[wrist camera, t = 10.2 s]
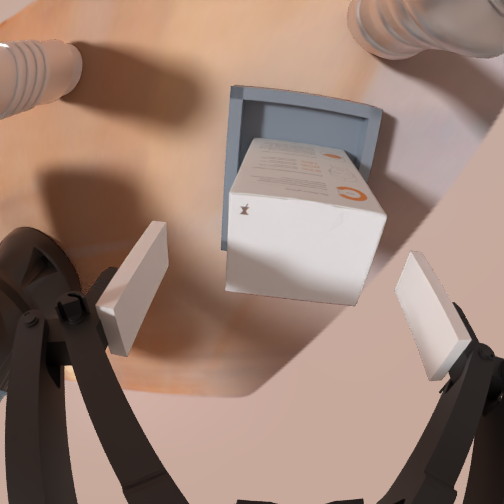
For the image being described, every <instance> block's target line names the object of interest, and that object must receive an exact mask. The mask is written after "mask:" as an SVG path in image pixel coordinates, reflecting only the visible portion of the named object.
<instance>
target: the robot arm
mask: <svg viewBox="0 0 504 504" xmlns="http://www.w3.org/2000/svg"><path fill="white" fill-rule="evenodd" d="M168 267H169V260H168V245H167V228H166V222H161V221H152V222H151V223H150V225H149V226H148V228H147V229H146V230H145V232H144V233H143V234H142V236H141V237H140V239H139V240H138V242H137V243H136V244H135V246H134V247H133V249H132V250H131V252H130V253H129V254H128V256H127V257H126V259H125V260H124V262H123V263H122V265H121V266H120V268H114V267H109V268H108V269H106V270H105V271H104V272H102V273H101V274H100V276H99V277H98V279H97V280H96V282H95V283H94V284H93V286H92V288H91V289H90V290H89V292H88V293H87V295H86V296H84V294H83V293H81V288H80V283H79V280H78V277H77V274H76V272H75V270H74V268H73V266H72V264H71V263H70V261H69V260H68V258H67V257H66V255H65V254H64V253H63V251H62V250H61V249H60V248H59V247H58V246H57V245H56V244H55V243H54V242H53V241H52V240H51V239H50V238H48V237H47V236H46V235H44V234H43V233H41V232H39V231H37V230H35V229H32V228H28V227H20V228H16V229H15V230H13V231H12V232H11V233H10V234H8V235H7V236H6V237H5V238H4V239H3V240H2V242H1V243H0V402H1V400H2V399H3V397H4V396H5V395H7V403H6V420H5V462H6V480H7V491H8V501H9V504H78V503H77V498H76V493H75V488H74V482H73V477H72V470H71V463H70V456H69V447H68V437H67V426H66V411H65V387H64V366H67V365H72V366H73V370H74V373H75V376H76V379H77V382H78V385H79V388H80V391H81V394H82V397H83V400H84V402H85V405H86V408H87V410H88V413H89V416H90V418H91V420H92V423H93V425H94V428H95V430H96V433H97V435H98V437H99V440H100V442H101V444H102V447H103V449H104V451H105V453H106V455H107V457H108V459H109V462H110V464H111V465H112V468H113V470H114V472H115V474H116V476H117V477H118V479H119V481H120V483H121V486H122V489H123V493H124V496H125V498H126V500H127V502H128V504H189V503H188V501H187V500H186V498H185V497H184V496H183V494H182V493H181V491H180V490H179V489H178V487H177V485H176V484H175V483H174V481H173V479H172V478H171V476H170V475H169V473H168V472H167V471H166V469H165V468H164V466H163V465H162V463H161V461H160V460H159V458H158V456H157V455H156V453H155V451H154V450H153V448H152V446H151V444H150V443H149V441H148V439H147V437H146V435H145V434H144V432H143V430H142V428H141V426H140V424H139V423H138V421H137V419H136V417H135V415H134V413H133V411H132V409H131V407H130V405H129V403H128V401H127V399H126V397H125V395H124V393H123V391H122V389H121V386H120V384H119V382H118V380H117V378H116V376H115V373H114V371H113V369H112V366H111V364H110V362H109V359H108V357H107V355H106V352H105V350H106V348H107V346H109V349H110V352H111V354H115V355H120V356H124V357H128V354H129V352H130V350H131V347H132V345H133V343H134V340H135V338H136V336H137V333H138V331H139V329H140V327H141V324H142V322H143V320H144V318H145V316H146V313H147V311H148V309H149V307H150V305H151V302H152V300H153V298H154V296H155V294H156V292H157V290H158V287H159V285H160V283H161V281H162V279H163V277H164V275H165V273H166V271H167V269H168ZM395 292H396V294H397V297H398V299H399V302H400V304H401V306H402V309H403V311H404V314H405V316H406V318H407V321H408V324H409V326H410V329H411V332H412V334H413V337H414V340H415V342H416V345H417V348H418V351H419V353H420V356H421V359H422V362H423V365H424V368H425V371H426V374H427V377H428V379H429V381H437V380H442V379H443V378H444V377H445V375H446V374H447V373H448V372H449V375H450V379H449V381H448V382H447V383H446V384H445V385H444V387H443V388H442V389H441V390H440V391H439V393H441V392H442V391H443V393H442V395H441V397H440V399H439V402H438V404H437V406H436V408H435V410H434V413H433V414H432V417H431V419H430V421H429V423H428V425H427V426H426V428H425V430H424V432H423V434H422V436H421V438H420V440H419V442H418V444H417V445H416V447H415V449H414V451H413V452H412V454H411V456H410V457H409V459H408V461H407V463H406V465H405V466H404V468H403V469H402V471H401V472H400V474H399V476H398V477H397V479H396V480H395V482H394V483H393V485H392V486H391V488H390V489H389V491H388V492H387V493H386V495H385V496H384V497H383V498H382V499H381V500H380V501H378V502H377V504H453V503H454V501H455V499H456V496H457V491H456V490H454V485H455V483H456V481H457V478H458V476H459V474H460V472H461V469H462V467H463V465H464V462H465V459H466V457H467V454H468V452H469V450H470V447H471V444H472V442H473V439H474V446H473V453H472V460H471V466H470V471H469V478H468V483H467V487H466V492H465V496H464V500H463V504H504V359H503V358H499V357H496V356H495V355H494V352H493V351H492V349H491V348H490V347H488V346H487V345H485V344H483V343H479V341H478V339H477V337H476V335H475V333H474V331H473V330H472V328H471V326H470V324H469V322H468V320H467V319H466V318H465V317H466V316H465V315H464V313H463V311H462V309H461V308H460V307H459V306H458V305H457V304H456V303H455V302H451V300H450V298H449V296H448V295H447V293H446V291H445V289H444V288H443V286H442V284H441V283H440V281H439V279H438V278H437V276H436V274H435V273H434V271H433V269H432V268H431V266H430V265H429V263H428V262H427V260H426V258H425V257H424V255H423V254H422V253H421V252H416V251H410V253H409V256H408V258H407V261H406V263H405V266H404V269H403V271H402V274H401V276H400V278H399V281H398V283H397V285H396V288H395ZM501 396H502V398H501ZM474 436H475V437H474ZM236 504H276V503H272V502H263V501H248V500H237V503H236ZM327 504H364V501H363V499H355V500H343V501H334V502H330V503H327Z"/></svg>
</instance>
